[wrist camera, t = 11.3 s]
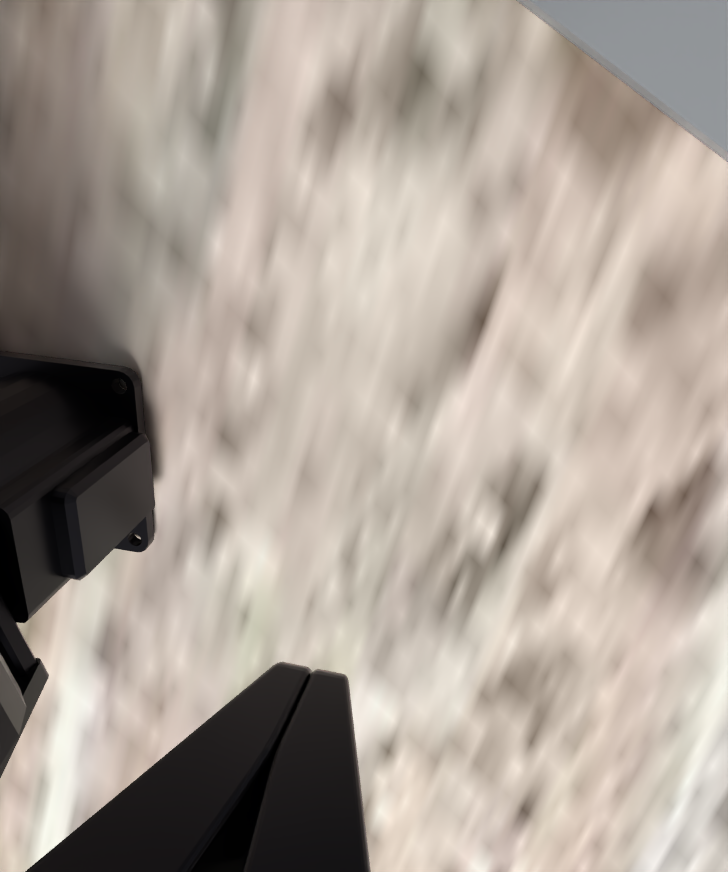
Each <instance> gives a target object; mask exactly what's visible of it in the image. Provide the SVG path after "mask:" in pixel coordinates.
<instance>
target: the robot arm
mask: <svg viewBox="0 0 728 872" xmlns="http://www.w3.org/2000/svg"><path fill="white" fill-rule="evenodd" d="M119 379H122V380H123V381H124V382H125V383H126V386H127V390H125V389H123V388H122V387H121V386H120V384H119ZM154 507H155V500H154V488H153V476H152V464H151V452H150V442H149V440H148V438H147V436H146V435H145V423H144V412H143V400H142V389H141V382H140V378H139V377H138V375H137V374H136V372H134V371H133V370H132V369H130V368H127V367H122V366H115V365H107V364H99V363H91V362H83V361H75V360H67V359H60V358H52V357H44V356H36V355H28V354H20V353H12V352H4V351H0V778H1V776H2V774H3V771H4V769H5V767H6V765H7V763H8V761H9V759H10V757H11V755H12V753H13V750H14V748H15V746H16V744H17V742H18V740H19V738H20V736H21V734H22V732H23V729H24V727H25V725H26V723H27V721H28V719H29V717H30V715H31V713H32V711H33V709H34V706H35V704H36V702H37V700H38V698H39V696H40V694H41V692H42V690H43V688H44V685H45V683H46V681H47V679H48V676H49V675H48V673H47V671H46V669H45V667H44V665H43V663H42V661H41V660H40V659H39V658H35V657H34V655H33V653H32V651H31V649H30V648H29V646H28V644H27V642H26V640H25V638H24V636H23V635H22V633H21V631H20V629H19V627H18V625H17V623H16V622H18V623H25V622H26V621H27V620H29V619H30V618H31V617H32V616H33V615H34V614H35V613H36V612H37V611H38V610H39V609H40V608H41V607H42V606H43V605H44V604H45V603H46V602H47V601H48V600H49V599H50V598H51V597H52V596H53V595H54V594H55V593H56V592H57V591H58V590H59V589H60V588H62V587H63V586H64V585H65V584H66V583H67V582H68V581H69V580H70V579H75V580H81V579H83V578H84V577H85V576H86V575H88V574H89V573H90V572H91V571H92V570H93V569H94V568H95V567H96V566H97V565H98V564H99V563H100V562H101V561H102V560H103V559H104V558H105V557H106V556H107V555H108V554H109V553H110V552H111V551H112V550H113V549H114V548H116V549H122V550H127V551H133V552H142V551H144V550H146V549H147V548H148V546H149V545H150V544H151V543H152V542H153V540H154V528H153V516H152V510H153V509H154ZM134 533H135V534H138V535H139V536H140V537H141V539H138V538H137V537H136V536H135V534H134ZM26 872H371V871H370V862H369V853H368V845H367V836H366V828H365V819H364V810H363V802H362V793H361V785H360V776H359V767H358V759H357V750H356V741H355V733H354V724H353V716H352V707H351V698H350V690H349V682H348V678H347V676H346V675H344V674H340V673H336V672H331V671H326V670H321V669H317V670H315V671H313V672H312V670H311V669H310V668H308V667H305V666H300V665H295V664H290V663H285V662H279V663H277V664H275V665H274V666H272V667H271V668H270V669H269V670H267V671H266V672H265V673H264V674H263V675H261V676H260V677H259V678H258V679H257V680H255V681H254V682H253V683H252V684H251V685H249V686H248V687H247V688H246V689H245V690H243V691H242V692H241V693H240V694H239V695H237V696H236V697H235V698H234V699H233V700H231V701H230V702H229V703H228V704H227V705H225V706H224V707H223V708H222V709H221V710H219V711H218V712H217V713H216V714H214V715H213V716H212V717H211V718H210V719H208V720H207V721H206V722H205V723H204V724H202V725H201V726H200V727H199V728H198V729H196V730H195V731H194V732H193V733H192V734H190V735H189V736H188V737H187V738H186V739H184V740H183V741H182V742H181V743H180V744H178V745H177V746H176V747H175V748H174V749H172V750H171V751H170V752H169V753H168V754H166V755H165V756H164V757H163V758H162V759H160V760H159V761H158V762H157V763H156V764H154V765H153V766H152V767H151V768H150V769H148V770H147V771H146V772H145V773H143V774H142V775H141V776H140V777H139V778H137V779H136V780H135V781H134V782H133V783H131V784H130V785H129V786H128V787H127V788H125V789H124V790H123V791H122V792H121V793H119V794H118V795H117V796H116V797H115V798H113V799H112V800H111V801H110V802H109V803H107V804H106V805H105V806H104V807H103V808H101V809H100V810H99V811H98V812H97V813H95V814H94V815H93V816H92V817H91V818H89V819H88V820H87V821H86V822H85V823H83V824H82V825H81V826H80V827H78V828H77V829H76V830H75V831H74V832H72V833H71V834H70V835H69V836H68V837H66V838H65V839H64V840H63V841H62V842H60V843H59V844H58V845H57V846H56V847H54V848H53V849H52V850H51V851H50V852H48V853H47V854H46V855H45V856H44V857H42V858H41V859H40V860H39V861H38V862H36V863H35V864H34V865H33V866H32V867H30V868H29V869H28V870H27V871H26Z"/></svg>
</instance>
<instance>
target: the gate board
mask: <svg viewBox="0 0 728 872" xmlns="http://www.w3.org/2000/svg"><path fill="white" fill-rule="evenodd" d="M517 1H518V2H519V3H521V4H522V5H523V6H525V7H526V8H527V9H529V10H530V11H531V12H532V13H534V14H535V15H536V16H538V17H539V18H540V19H542V20H543V21H544V22H546V23H547V24H548V25H549V26H551V27H552V28H553V29H555V30H556V31H557V32H559V33H560V34H561V35H562V36H564V37H565V38H566V39H568V40H569V41H570V42H572V43H573V44H574V45H576V46H577V47H578V48H579V49H581V50H582V51H583V52H585V53H586V54H587V55H589V56H590V57H591V58H593V59H594V60H595V61H596V62H598V63H599V64H600V65H602V66H603V67H604V68H606V69H607V70H608V71H609V72H611V73H612V74H613V75H615V76H616V77H617V78H619V79H620V80H621V81H623V82H624V83H625V84H626V85H628V86H629V87H630V88H632V89H633V90H634V91H636V92H637V93H638V94H640V95H641V96H642V97H643V98H645V99H646V100H647V101H649V102H650V103H651V104H653V105H654V106H655V107H657V108H658V109H659V110H660V111H662V112H663V113H664V114H666V115H667V116H668V117H670V118H671V119H672V120H673V121H675V122H676V123H677V124H679V125H680V126H681V127H683V128H684V129H685V130H687V131H688V132H689V133H690V134H692V135H693V136H694V137H696V138H697V139H698V140H700V141H701V142H702V143H704V144H705V145H706V146H707V147H709V148H710V149H711V150H713V151H714V152H715V153H717V154H718V155H719V156H720V157H722V158H723V159H724V160H726V161H727V162H728V0H517Z"/></svg>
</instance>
